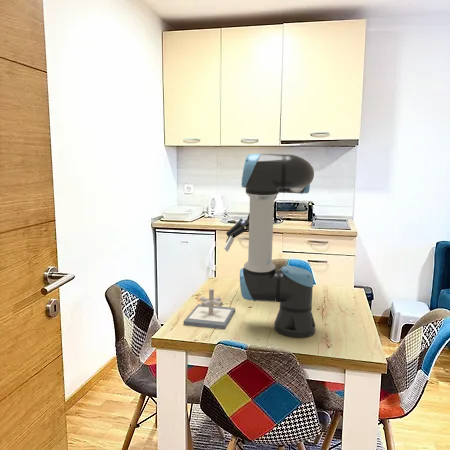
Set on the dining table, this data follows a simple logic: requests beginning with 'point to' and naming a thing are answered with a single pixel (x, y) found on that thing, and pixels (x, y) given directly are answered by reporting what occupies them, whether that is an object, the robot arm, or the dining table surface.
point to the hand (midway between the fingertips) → (239, 252)
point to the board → (210, 317)
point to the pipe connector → (211, 301)
